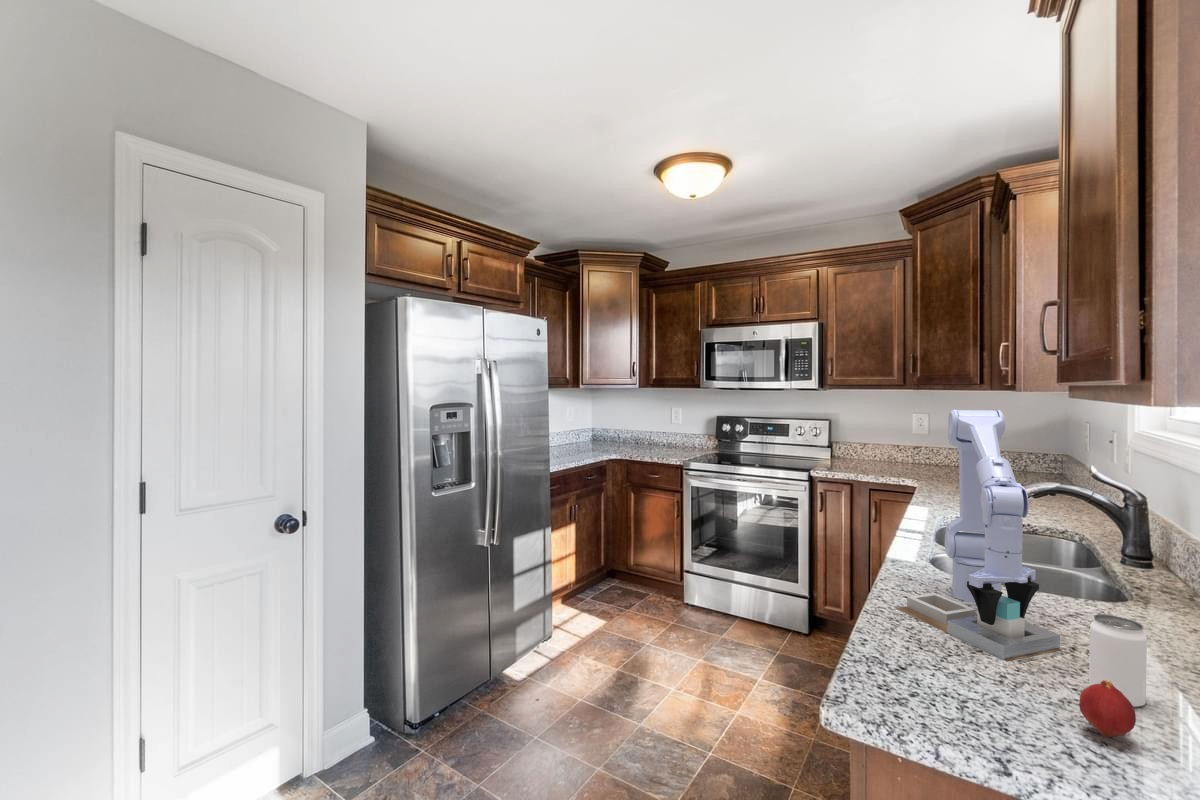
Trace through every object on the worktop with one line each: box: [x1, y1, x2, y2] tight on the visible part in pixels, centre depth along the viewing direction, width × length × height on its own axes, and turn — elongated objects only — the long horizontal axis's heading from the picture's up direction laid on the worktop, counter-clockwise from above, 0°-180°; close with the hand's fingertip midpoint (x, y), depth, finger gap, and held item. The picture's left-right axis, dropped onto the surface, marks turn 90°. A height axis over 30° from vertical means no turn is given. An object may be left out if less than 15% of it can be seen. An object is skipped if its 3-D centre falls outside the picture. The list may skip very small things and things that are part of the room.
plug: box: [976, 594, 1026, 639], centre depth 102 cm, size 4×6×8 cm, turn 17°
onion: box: [1078, 680, 1137, 738], centre depth 75 cm, size 6×6×8 cm
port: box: [946, 616, 1061, 661], centre depth 102 cm, size 14×11×2 cm
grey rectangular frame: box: [906, 592, 977, 625], centre depth 114 cm, size 8×10×2 cm
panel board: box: [895, 605, 1063, 667], centre depth 108 cm, size 14×24×1 cm, turn 17°
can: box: [1088, 613, 1148, 708], centre depth 85 cm, size 6×6×12 cm
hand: (1002, 620), depth 102 cm, fingers open, 7 cm apart
